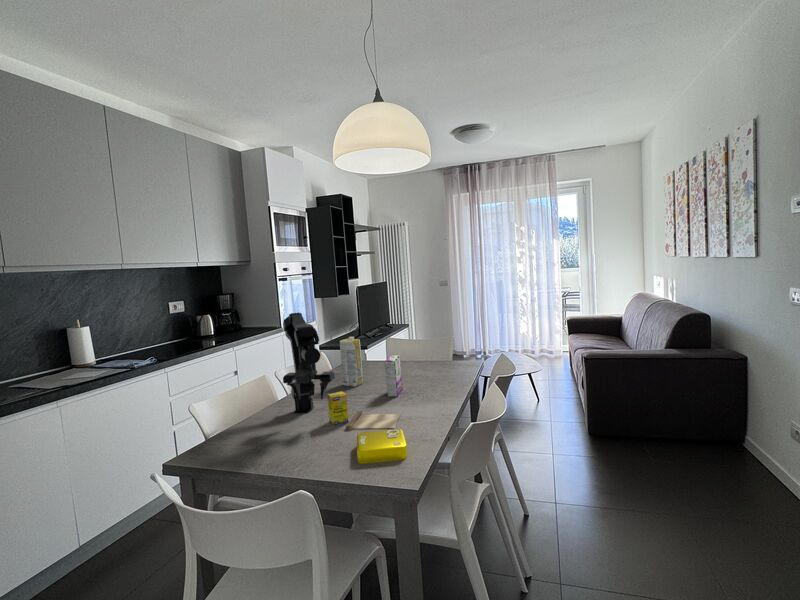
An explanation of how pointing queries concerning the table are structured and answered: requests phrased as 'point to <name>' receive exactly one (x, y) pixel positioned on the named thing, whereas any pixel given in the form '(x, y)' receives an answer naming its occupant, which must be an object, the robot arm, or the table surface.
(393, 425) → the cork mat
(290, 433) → the table surface
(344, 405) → the supplement box
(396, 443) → the yellow flat block
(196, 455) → the table surface
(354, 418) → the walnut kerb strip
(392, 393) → the candy bar box
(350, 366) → the juice carton
